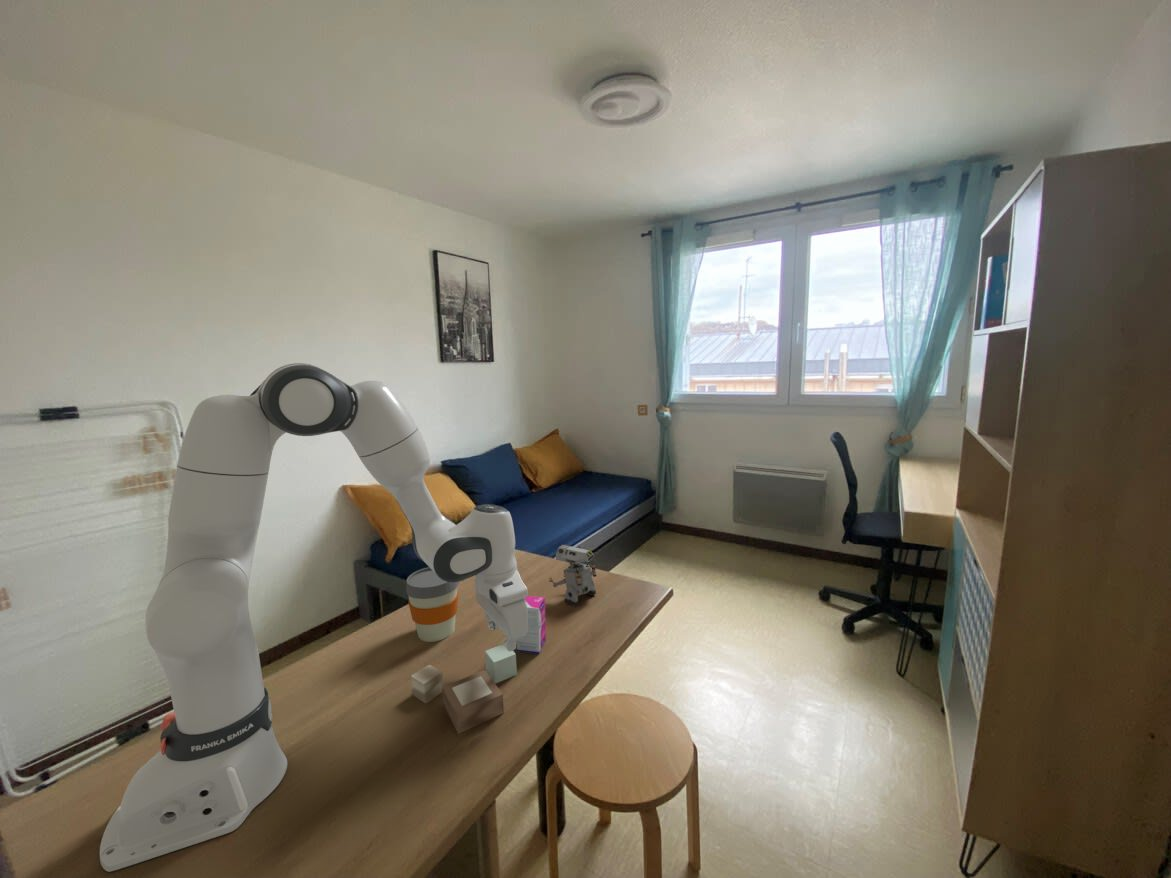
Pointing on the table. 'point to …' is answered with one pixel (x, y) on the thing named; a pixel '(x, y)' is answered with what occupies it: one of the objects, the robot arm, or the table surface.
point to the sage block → (500, 663)
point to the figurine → (576, 573)
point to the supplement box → (534, 626)
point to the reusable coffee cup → (432, 604)
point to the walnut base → (472, 701)
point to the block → (427, 683)
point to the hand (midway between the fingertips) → (501, 638)
